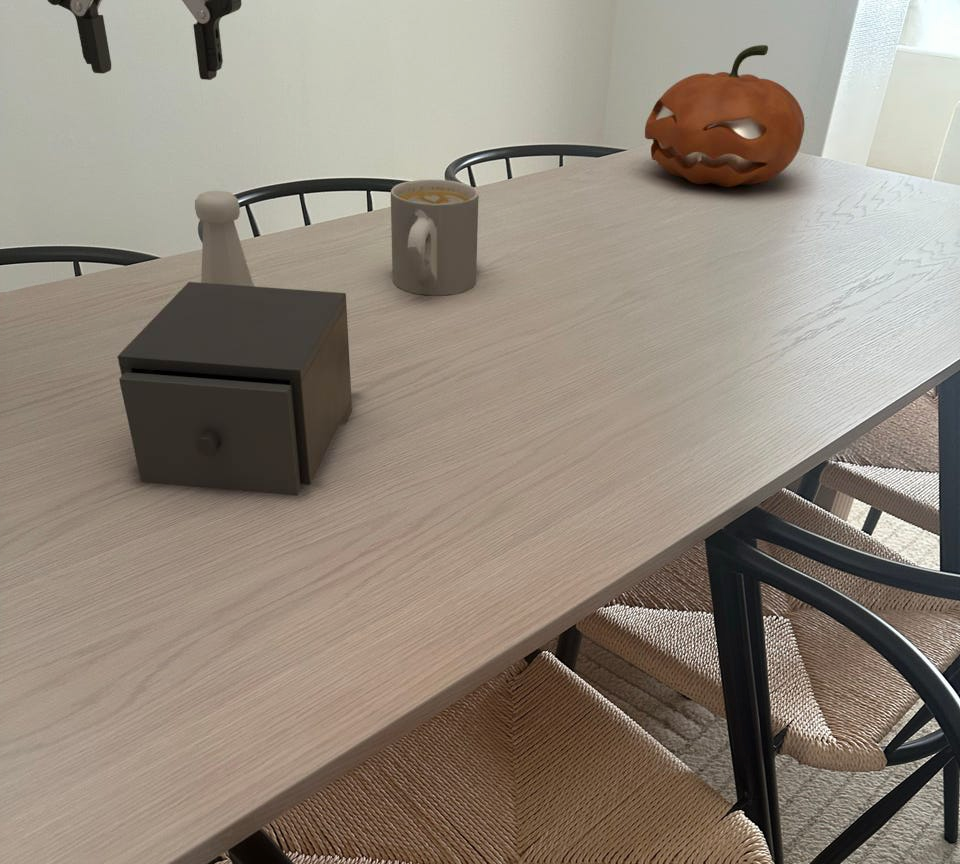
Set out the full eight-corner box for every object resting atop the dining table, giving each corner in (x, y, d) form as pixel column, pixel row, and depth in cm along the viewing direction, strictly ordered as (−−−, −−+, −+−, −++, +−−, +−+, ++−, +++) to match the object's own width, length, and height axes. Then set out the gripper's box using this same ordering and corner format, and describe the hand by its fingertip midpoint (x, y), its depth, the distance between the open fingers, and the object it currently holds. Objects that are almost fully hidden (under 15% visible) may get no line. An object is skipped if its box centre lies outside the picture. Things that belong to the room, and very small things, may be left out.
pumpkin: (607, 177, 156) (621, 38, 144) (688, 150, 171) (708, 22, 159) (748, 211, 144) (777, 63, 132) (822, 179, 159) (854, 44, 147)
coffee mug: (416, 260, 123) (415, 174, 116) (489, 274, 120) (492, 187, 113) (362, 295, 113) (358, 203, 107) (440, 311, 110) (441, 218, 104)
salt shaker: (198, 315, 107) (179, 188, 99) (249, 308, 109) (235, 183, 101) (213, 335, 103) (194, 204, 95) (266, 327, 105) (252, 198, 97)
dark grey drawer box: (311, 497, 79) (300, 370, 72) (143, 483, 80) (117, 355, 73) (352, 409, 91) (345, 292, 84) (206, 397, 92) (188, 281, 85)
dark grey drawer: (293, 505, 76) (282, 399, 71) (135, 492, 77) (111, 385, 71) (338, 413, 88) (332, 316, 83) (201, 402, 89) (185, 305, 83)
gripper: (234, -189, 70) (257, 72, 80) (38, -199, 70) (86, 61, 81) (200, -193, 64) (230, 90, 74) (-13, -203, 65) (46, 78, 75)
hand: (155, 75), depth 77 cm, fingers open, 8 cm apart
